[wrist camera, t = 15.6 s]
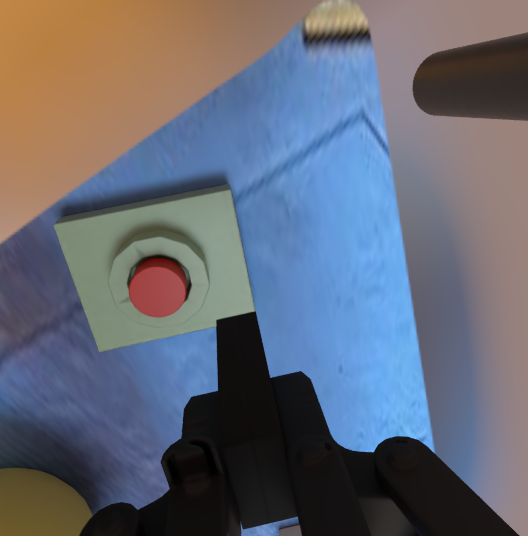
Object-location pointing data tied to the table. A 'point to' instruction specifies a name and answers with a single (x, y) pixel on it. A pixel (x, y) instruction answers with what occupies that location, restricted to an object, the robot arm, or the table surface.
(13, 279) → the table surface
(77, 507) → the vase
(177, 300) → the power button
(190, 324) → the block
